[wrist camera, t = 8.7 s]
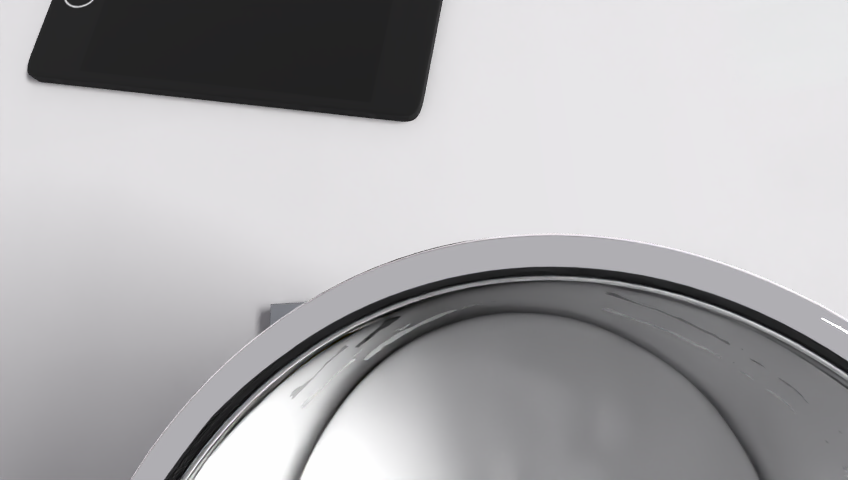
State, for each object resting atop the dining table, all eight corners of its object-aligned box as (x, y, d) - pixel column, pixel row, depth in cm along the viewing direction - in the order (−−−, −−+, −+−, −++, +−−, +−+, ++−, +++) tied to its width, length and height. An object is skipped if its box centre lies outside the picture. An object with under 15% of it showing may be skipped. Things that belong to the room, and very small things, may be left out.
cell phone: (97, -73, 27) (84, -89, 26) (454, -52, 24) (453, -69, 23) (38, 85, 25) (21, 74, 24) (420, 127, 22) (417, 116, 21)
